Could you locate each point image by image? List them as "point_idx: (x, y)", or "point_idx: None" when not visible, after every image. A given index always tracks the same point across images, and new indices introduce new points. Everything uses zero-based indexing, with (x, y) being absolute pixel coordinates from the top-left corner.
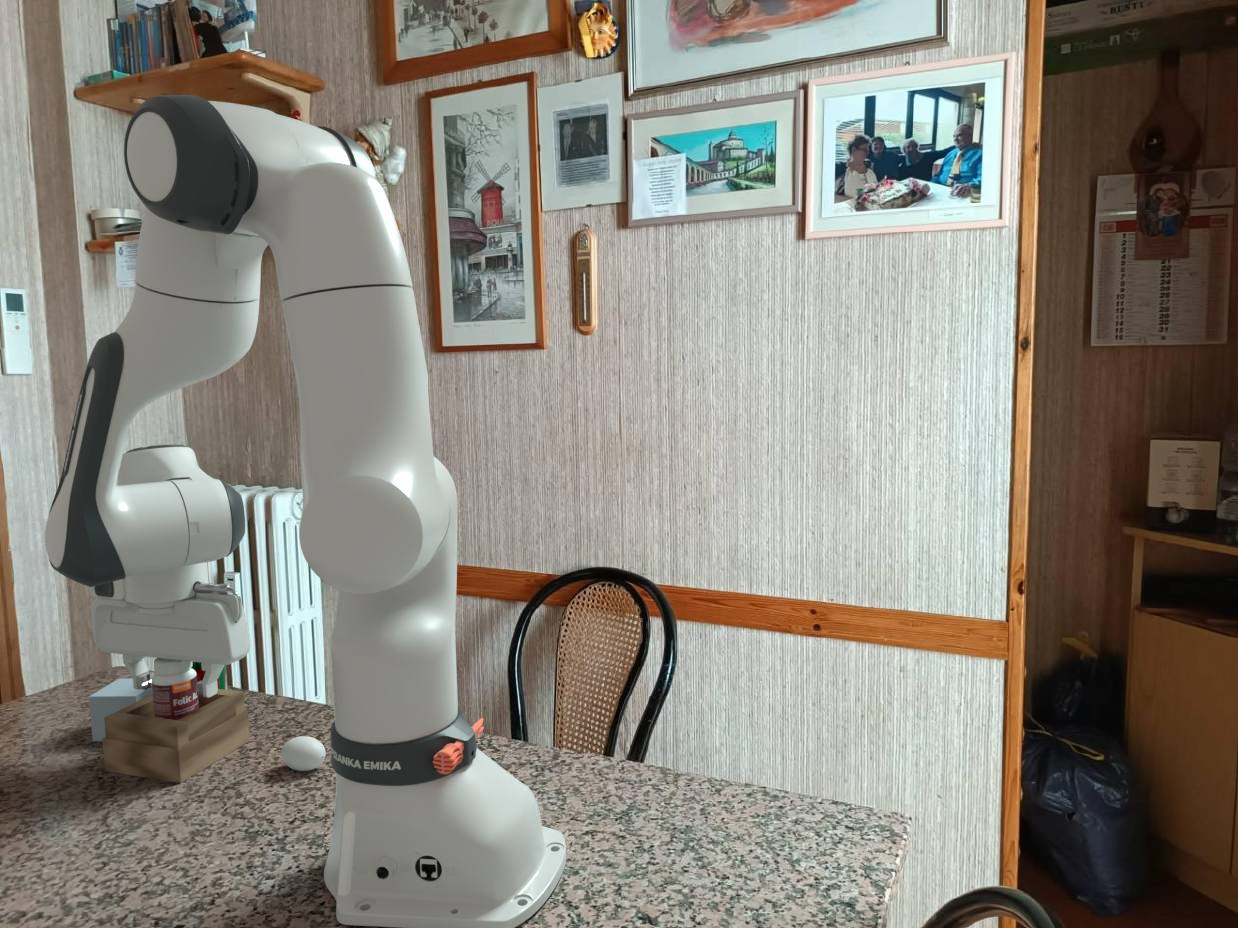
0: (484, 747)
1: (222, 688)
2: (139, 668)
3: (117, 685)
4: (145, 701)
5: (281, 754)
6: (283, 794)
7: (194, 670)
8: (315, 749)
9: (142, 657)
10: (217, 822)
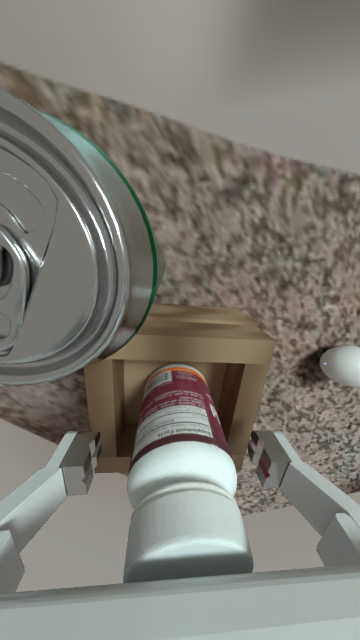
0: None
1: (163, 266)
2: (44, 505)
3: None
4: (103, 416)
5: (327, 375)
6: (328, 398)
7: (224, 465)
8: None
9: (14, 548)
10: (289, 439)
